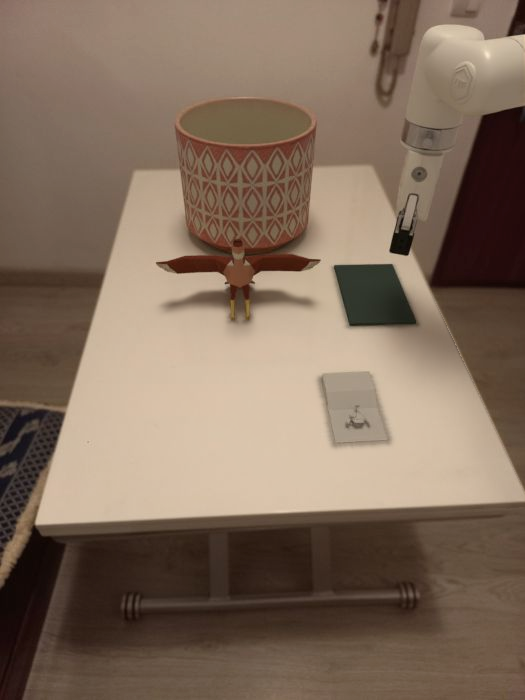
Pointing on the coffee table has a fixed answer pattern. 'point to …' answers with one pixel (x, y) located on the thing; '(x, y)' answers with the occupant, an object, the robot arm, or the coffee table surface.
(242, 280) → the decorative bird
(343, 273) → the felt mat
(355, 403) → the white pop-up card
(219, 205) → the planter
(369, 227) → the coffee table surface
